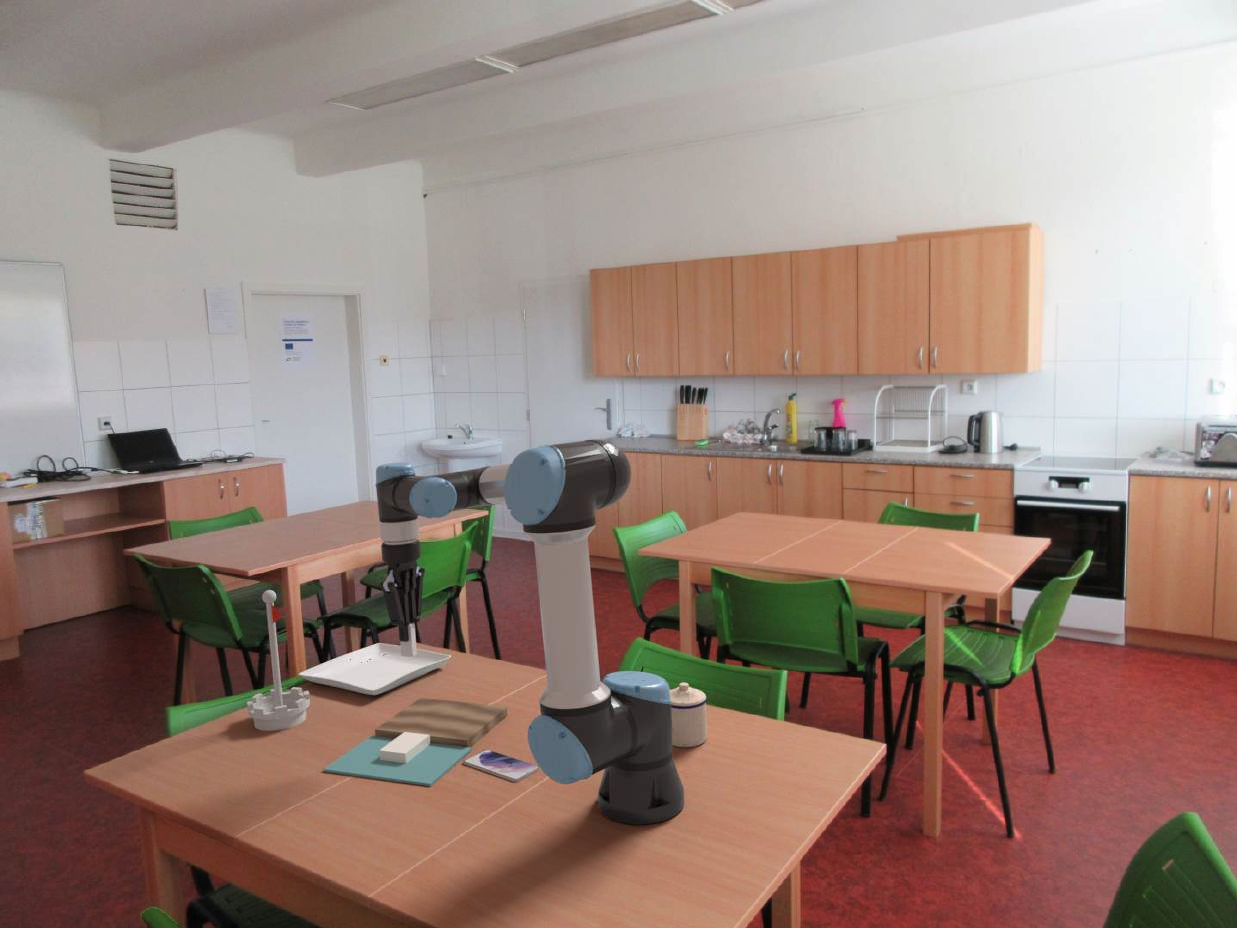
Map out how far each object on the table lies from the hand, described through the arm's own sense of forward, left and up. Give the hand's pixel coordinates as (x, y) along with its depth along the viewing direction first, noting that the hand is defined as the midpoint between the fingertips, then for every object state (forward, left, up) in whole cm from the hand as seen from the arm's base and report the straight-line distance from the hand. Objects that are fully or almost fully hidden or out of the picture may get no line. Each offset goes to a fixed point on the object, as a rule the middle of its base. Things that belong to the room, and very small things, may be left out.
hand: (409, 655), depth 186 cm
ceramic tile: (-3, 0, -19) cm, 19 cm away
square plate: (+35, +33, -20) cm, 52 cm away
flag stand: (+5, +38, -20) cm, 43 cm away
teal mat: (-6, 0, -20) cm, 21 cm away
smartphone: (-3, -21, -20) cm, 29 cm away
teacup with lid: (+18, -51, -20) cm, 58 cm away
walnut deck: (+11, 0, -20) cm, 23 cm away
